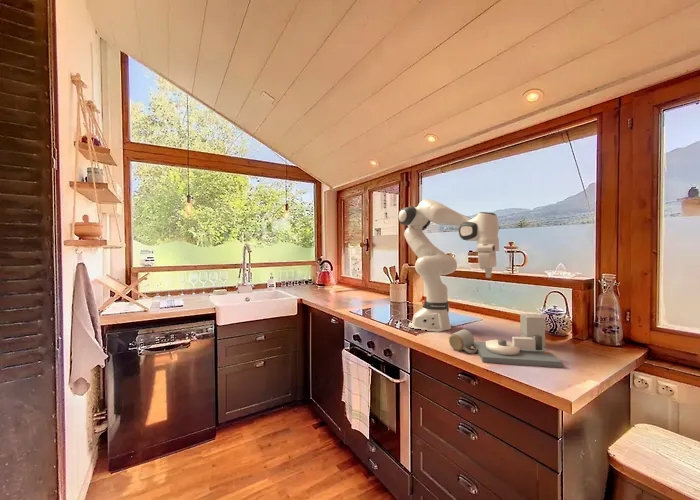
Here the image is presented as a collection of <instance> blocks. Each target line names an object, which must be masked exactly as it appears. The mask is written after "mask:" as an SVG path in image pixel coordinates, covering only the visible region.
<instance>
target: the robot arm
mask: <svg viewBox="0 0 700 500" xmlns="http://www.w3.org/2000/svg"><path fill="white" fill-rule="evenodd" d="M397 219H398V222H399V223H400V225H402V226H407V227H406V229H405V230H404V233H403V235H404V238H405V240H406V243H407V245H408V246H409V248H410V249H411V250H412V252H413V253H414V255H415V256H416V257H418V258H417V260H415V263H414V270H415V271H416V273H417V275H419V276H420V277H421V278H422V281H423V282H424V287H425V295H426V299H425V300H424V299H423V300H422V301H421V305H422V308H420V309H419V310H418V311H416V312H415V313H414V314H413V316H412V321H410V322H409V323H408V328H409V327H411V326H412V327H411V328H414V329H421V330H420V331H425V330H427V332H436V333H441V332H443V331H447V330H448V331H449V330H451V329H452V325H451V322H450V321H451V320H450V316H449V312H450V304H449V301H448V300H449V299H448V298H449V297H448V287H447V285H446V284H445V283H443V282H442V279H441V276H447V275H449V274H452V273H454V272H456V270H457V268H458V263H457V262H458V261H457V260H456V259H455V257H453V256H451V255H448V254H447V253H445V252H444V251H442V250H441V249H439V248H438V247H436V246H435V244H433V243H432V242H431V240H430V239H429V238H428V237H427V235H426V234H425V233H424V232H423V231H425V230H426V229H427V228H428V227H429V226H430V224H431V223H433V224H436V225H443V226H455V227H459V228H458V235H459V237H460V238H461V240H463V241H466V242H467V241H468V242H477V246H476V252H477V258H478V266H479V269H481V270H484V272H485V278H487V279H491V278H492V271H493V268H495V267H497V252H499V251H500V238H499V236H498V235H499V231H500V230H499V219H498V216H497V214H495V213H494V212H487V211H486V212H483V211H482V212H478V213H477V214H476V215H475V216H474V217H472V218H471V217H469V216H467V215H464V214H462V213H459V212H458V211H456V210H454V209H452V208H451V207H448V206H447V205H444V204H443V203H441V202H438V201H436V200H434V199H428V198H425V199H423V200H420V202H419V203H418V205H417V206H416V207H414V206H413V205H411V206H408V207H403V208H401V209H399V212H398V214H397ZM411 322H412V323H411ZM414 329H413V330H414Z"/></svg>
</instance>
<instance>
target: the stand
mask: <svg viewBox="0 0 700 500" xmlns="http://www.w3.org/2000/svg"><path fill="white" fill-rule="evenodd" d="M474 344H475V345H476V346H477V352H476V353H477V354H478V356H479V358H480V360H481V362H482V363H491V364H503V365H517V366H519V365H520V366H531V367H532V366H533V367H547V368H548V367H549V368H550V367H551V368H563V362H562V361H561V360H560V359H559V358H558V357H556V355H554V354H553V353H552V352H551V351H550V350H548V349H547V348H546V347H543V346H542V350H531V349H520V353H519V354H517V355H501V354H496V353H493V352H490V351H488V350H487V349H486V341H474Z"/></svg>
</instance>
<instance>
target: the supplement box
mask: <svg viewBox="0 0 700 500" xmlns="http://www.w3.org/2000/svg"><path fill="white" fill-rule="evenodd" d="M519 316H520V317H519V324H520V327H519V329H520V337H532V335H540V336H542V346H543V347H544V348H546V328H545V327H546V325H545V323H546V320H545V318H546V317H544V316H542V315H540V314H537V313H520V314H519Z"/></svg>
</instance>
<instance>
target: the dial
mask: <svg viewBox="0 0 700 500" xmlns="http://www.w3.org/2000/svg"><path fill="white" fill-rule="evenodd" d="M511 338H512V340H511V341H509V340H505V339H502V338H501V339H500V338H499V339H490V340H486V341H485V342H486V349H487V350H488V351H490V352H493V353H496V354H501V355H517V354H519V353H520V349H531V350H542V336H540V335H532V337H521V336H512V337H511Z"/></svg>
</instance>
